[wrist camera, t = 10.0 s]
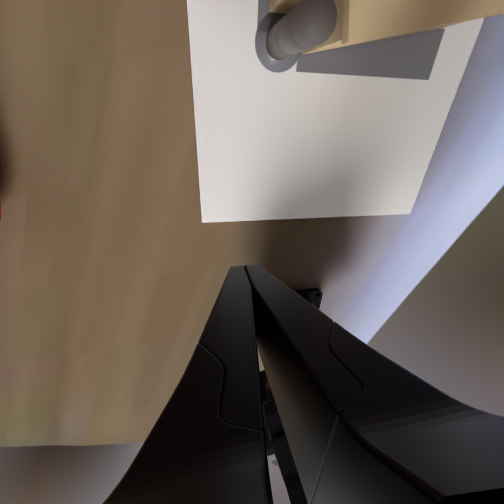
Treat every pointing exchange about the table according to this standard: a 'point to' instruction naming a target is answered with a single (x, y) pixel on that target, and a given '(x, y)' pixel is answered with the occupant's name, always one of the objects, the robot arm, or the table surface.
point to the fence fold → (400, 18)
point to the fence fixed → (300, 26)
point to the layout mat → (315, 116)
